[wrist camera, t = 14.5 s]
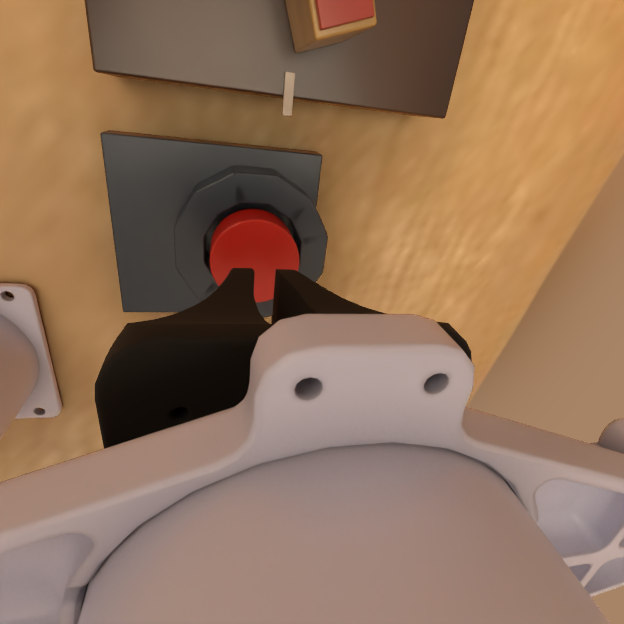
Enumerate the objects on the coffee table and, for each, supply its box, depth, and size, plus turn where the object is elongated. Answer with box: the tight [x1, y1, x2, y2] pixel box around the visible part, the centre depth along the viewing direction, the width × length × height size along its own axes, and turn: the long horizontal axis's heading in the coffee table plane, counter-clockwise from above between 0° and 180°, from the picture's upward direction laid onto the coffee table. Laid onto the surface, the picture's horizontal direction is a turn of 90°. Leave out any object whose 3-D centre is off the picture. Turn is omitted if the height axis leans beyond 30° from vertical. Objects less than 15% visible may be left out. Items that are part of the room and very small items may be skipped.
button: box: [210, 209, 299, 302], centre depth 16 cm, size 4×4×2 cm
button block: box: [101, 130, 328, 317], centre depth 18 cm, size 9×8×3 cm
